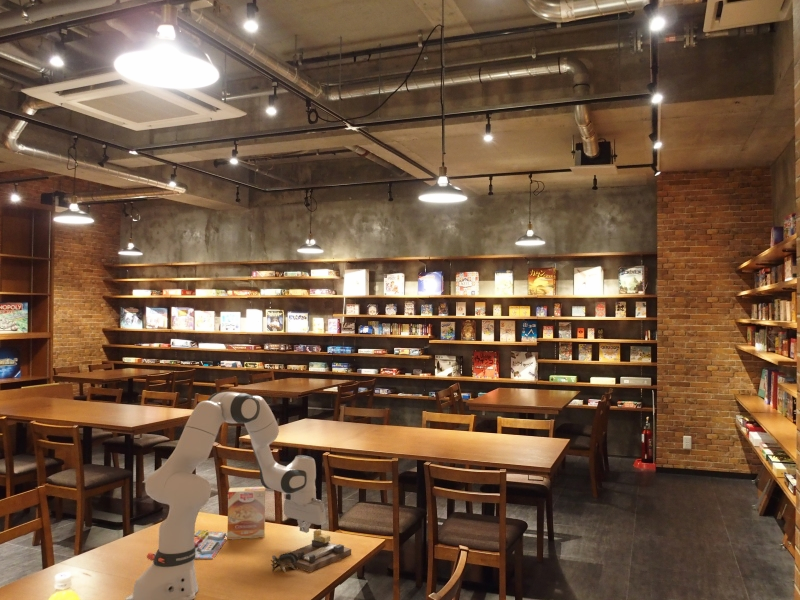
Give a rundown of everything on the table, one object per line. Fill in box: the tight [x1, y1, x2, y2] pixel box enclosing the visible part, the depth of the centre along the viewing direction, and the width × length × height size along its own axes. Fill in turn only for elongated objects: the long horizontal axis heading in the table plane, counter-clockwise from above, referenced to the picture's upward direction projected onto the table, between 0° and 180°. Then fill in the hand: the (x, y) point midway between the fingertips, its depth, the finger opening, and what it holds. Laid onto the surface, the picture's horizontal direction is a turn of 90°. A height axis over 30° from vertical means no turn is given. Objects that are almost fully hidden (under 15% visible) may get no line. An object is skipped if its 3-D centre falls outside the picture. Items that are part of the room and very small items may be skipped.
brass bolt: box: [313, 528, 331, 543], centre depth 243 cm, size 3×6×3 cm, turn 53°
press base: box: [288, 539, 352, 573], centre depth 237 cm, size 22×16×4 cm
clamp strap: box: [302, 542, 337, 561], centre depth 234 cm, size 16×4×1 cm, turn 143°
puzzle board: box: [154, 529, 227, 560], centre depth 249 cm, size 30×23×3 cm
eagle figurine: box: [270, 552, 299, 574], centre depth 225 cm, size 8×7×9 cm
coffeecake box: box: [226, 486, 266, 540], centre depth 261 cm, size 15×7×20 cm, turn 101°
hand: (304, 531), depth 249 cm, fingers closed
